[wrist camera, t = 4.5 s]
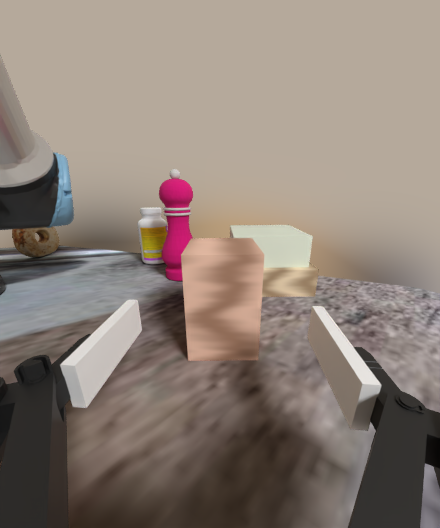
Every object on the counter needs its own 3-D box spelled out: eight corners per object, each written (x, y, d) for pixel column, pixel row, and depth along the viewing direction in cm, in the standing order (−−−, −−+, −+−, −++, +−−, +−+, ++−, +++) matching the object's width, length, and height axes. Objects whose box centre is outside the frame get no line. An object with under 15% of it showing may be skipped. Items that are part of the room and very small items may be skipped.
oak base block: (228, 299, 34) (228, 270, 33) (225, 269, 48) (225, 248, 46) (314, 298, 34) (318, 269, 33) (287, 269, 48) (290, 247, 46)
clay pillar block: (188, 361, 21) (180, 255, 18) (195, 321, 28) (191, 238, 24) (258, 360, 21) (264, 254, 18) (248, 320, 28) (252, 237, 24)
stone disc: (28, 261, 53) (16, 221, 50) (16, 260, 54) (4, 221, 51) (65, 251, 63) (57, 217, 60) (55, 250, 64) (46, 216, 61)
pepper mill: (202, 279, 41) (198, 167, 35) (164, 284, 39) (152, 166, 33) (196, 268, 48) (192, 171, 41) (163, 271, 46) (153, 170, 40)
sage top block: (233, 267, 34) (233, 236, 32) (230, 249, 45) (230, 225, 44) (308, 267, 34) (312, 236, 32) (286, 248, 45) (288, 225, 44)
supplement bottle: (173, 262, 52) (169, 208, 48) (146, 267, 49) (139, 209, 45) (164, 255, 57) (160, 206, 53) (139, 260, 54) (132, 207, 50)
